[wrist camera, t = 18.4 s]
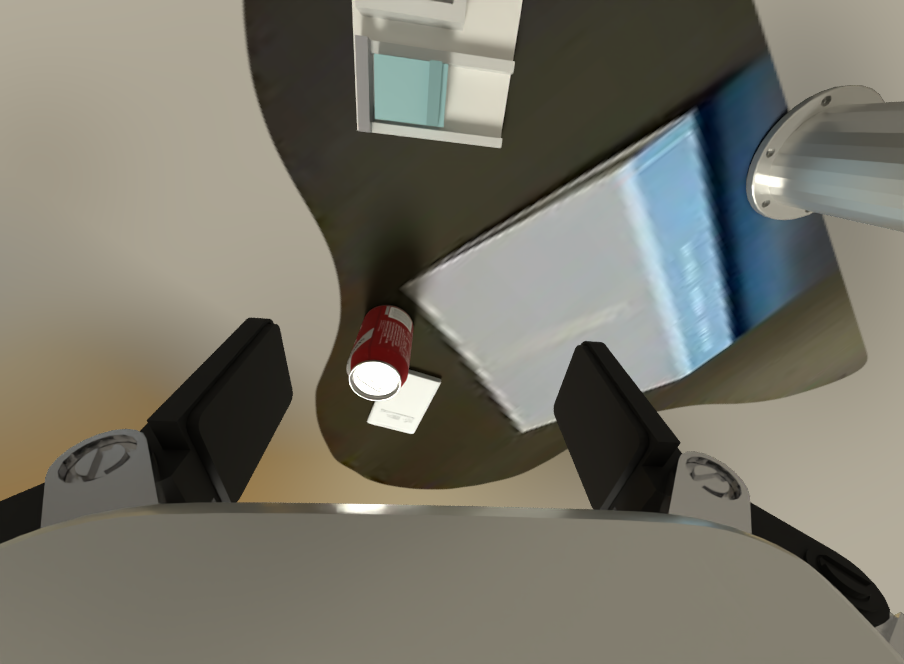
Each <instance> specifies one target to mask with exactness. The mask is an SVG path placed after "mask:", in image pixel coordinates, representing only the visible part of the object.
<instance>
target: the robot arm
mask: <svg viewBox="0 0 904 664" xmlns="http://www.w3.org/2000/svg"><path fill="white" fill-rule="evenodd" d="M746 191H747V197H748V200H749V202H750V204H751V206H752V208H753V209H754V210H755V211H756V212H757V213H759V214H761V215H763V216H765V217H769V218H772V219H778V220H789V219H796V218H800V217H803V216H806V215H809V214H811V213H813V212H816V213H821V214H825V215H830V216H834V217H839V218H843V219H847V220H852V221H856V222H861V223H865V224H870V225H874V226H878V227H883V228H887V229H892V230H896V231H901V232H904V102H889V103H885V102H884V101H883V99H882V98H881V96H880V94H878V93H877V92H876V91H875V90H873V89H872V88H868V87H865V86H861V85H849V86H841V87H834V88H831V89H828V90H824V91H821V92H819V93H817V94H815V95H813V96H811V97H809V98H807V99H806V100H804V101H803V102H801V103H800V104H798V105H797V106H795V107H794V108H793V109H792V110H791V111H789V112H788V113H787V114H786V115H785V116H784V117H782V118H781V119H780V121H779V122H778V123H777V124H776V125H775V126H774V127H773V128H772V129H771V130H770V132H769V133H768V134H767V136H766V137H765V139H764V140H763V141H762V143H761V145H760V146H759V148H758V150H757V152H756V153H755V155H754V158H753V160H752V162H751V165H750V167H749V172H748V176H747V183H746ZM292 396H293V391H292V386H291V381H290V376H289V371H288V366H287V361H286V356H285V352H284V347H283V342H282V337H281V332H280V328H279V326H278V325H277V324H274V323H273V321H272V320H271V319H263V318H248V319H246V321H244V323H243V324H241V325H240V327H239V328H238V329H237V330H236V331H235V332H234V333H233V334H232V335H231V336H230V337H229V338H228V339H227V340H226V341H225V342H224V343H223V344H222V345H221V346H220V347H219V348H218V349H217V350H216V351H215V352H214V353H213V354H212V355H211V356H210V357H209V358H208V359H207V360H206V361H205V362H204V363H203V364H202V365H201V366H200V367H199V368H198V369H197V370H196V371H195V372H194V373H193V374H192V375H191V376H190V377H189V378H188V379H187V380H186V381H185V382H184V383H183V384H182V385H181V386H180V388H178V389H177V390H176V391H175V392H174V393H173V394H172V395H171V397H169V398H168V399H167V400H166V402H164V403H163V404H162V405H161V406H160V407H159V408H158V410H156V412H155V413H153V414H152V416H151V417H150V418H149V419H148V420H147V422H148V423H147V424H146V425H145V427H143V429H142V430H141V431H140V432H139V431H137V430H131V429H120V430H112V431H108V432H105V433H101V434H98V435H95V436H93V437H91V438H88V439H86V440H83V441H82V442H80V443H78V444H77V445H75V446H73V447H71V448H70V449H68V450H67V451H66V452H64V454H62V455H61V456H60V457H58V458H57V459H56V460H55V462H54V463H53V464H52V465H51V466H50V468H49V469H48V472H47V474H46V477H45V483H43V484H40V485H38V486H36V487H33V488H31V489H28V490H26V491H24V492H21V493H19V494H17V495H14V496H12V497H9V498H7V499H5V500H2V501H0V664H904V614H903V613H902V612H899V613H897V614H895V615H893V614H892V613H891V612H890V609H889V607H888V604H887V602H886V600H885V598H884V596H883V595H882V593H881V592H880V591H879V589H878V588H877V587H876V585H875V584H874V583H873V582H872V581H871V580H870V579H869V578H868V577H867V576H866V575H865V574H864V573H863V572H862V571H861V570H860V569H859V568H858V567H856V566H855V565H854V564H853V563H851V562H850V561H849V560H847V559H846V558H844V557H843V556H841V555H840V554H838V553H837V552H835V551H833V550H832V549H830V548H828V547H826V546H825V545H823V544H821V543H820V542H818V541H816V540H814V539H813V538H811V537H809V536H807V535H806V534H804V533H802V532H801V531H799V530H797V529H796V528H794V527H792V526H790V525H788V524H787V523H785V522H783V521H782V520H780V519H778V518H777V517H775V516H773V515H771V514H769V513H768V512H766V511H764V510H763V509H761V508H759V507H758V506H756V505H754V504H752V503H751V502H750V495H749V492H748V488H747V487H746V485H745V484H744V482H743V480H742V479H741V478H740V477H739V476H738V475H737V474H736V473H735V472H734V471H733V470H732V469H731V468H729V467H728V466H727V465H725V464H724V463H722V462H721V461H719V460H717V459H716V458H714V457H711V456H709V455H706V454H704V453H699V452H695V451H693V452H685V453H683V454H682V453H681V452H680V450H679V449H678V446H679V444H680V441H679V440H678V439H677V437H676V436H675V435H674V433H673V432H672V431H671V430H670V428H669V427H668V426H667V424H666V423H665V422H664V421H663V419H662V418H661V417H660V415H659V414H658V413H657V411H656V410H655V409H654V408H653V406H652V405H651V404H650V402H649V401H648V400H647V398H646V397H645V396H644V395H643V393H642V392H641V391H640V389H639V388H638V387H637V385H636V384H635V383H634V382H633V380H632V379H631V378H630V376H629V375H628V374H627V372H626V371H625V370H624V369H623V367H622V366H621V365H620V363H619V362H618V361H617V359H616V358H615V357H614V356H613V354H612V353H611V352H610V350H609V349H608V348H607V347H606V345H605V344H604V343H602V342H591V341H584V342H583V343H582V344H581V345H578V346H577V347H576V348H575V351H574V353H573V356H572V359H571V361H570V364H569V367H568V369H567V372H566V374H565V377H564V380H563V382H562V385H561V388H560V390H559V393H558V396H557V398H556V401H555V404H554V415H555V418H556V420H557V423H558V425H559V428H560V430H561V432H562V435H563V437H564V440H565V442H566V445H567V447H568V450H569V452H570V455H571V457H572V459H573V462H574V464H575V467H576V469H577V472H578V474H579V477H580V479H581V481H582V484H583V486H584V489H585V491H586V494H587V496H588V499H589V501H590V504H591V506H592V508H593V509H594V510H590V509H555V508H553V509H552V508H519V507H478V506H435V505H434V506H431V505H387V504H384V505H383V504H329V503H326V504H325V503H236V502H237V501H238V500H239V499H240V497H241V495H242V493H243V491H244V490H245V488H246V486H247V484H248V482H249V480H250V478H251V476H252V474H253V473H254V471H255V469H256V467H257V465H258V463H259V461H260V459H261V458H262V456H263V454H264V452H265V450H266V448H267V446H268V444H269V442H270V441H271V438H272V437H273V435H274V433H275V431H276V429H277V427H278V425H279V424H280V422H281V420H282V418H283V416H284V414H285V412H286V410H287V409H288V407H289V405H290V403H291V400H292Z"/></svg>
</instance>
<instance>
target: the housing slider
mask: <svg viewBox="0 0 904 664" xmlns="http://www.w3.org/2000/svg"><path fill="white" fill-rule="evenodd" d="M447 76H448V64H444V63H442V61H435V60H430V61H423V60H417V59H410V58H403V57H396V56H389V55H382V54H375V53H374V93H375V119H381V120H389V121H396V122H404V123H412V124H420V125H428V126H436V127H444V114H445V102H446V89H447Z"/></svg>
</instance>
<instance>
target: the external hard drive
mask: <svg viewBox="0 0 904 664" xmlns="http://www.w3.org/2000/svg"><path fill="white" fill-rule="evenodd" d="M440 383H441V379H439V378H436V377H433V376H429V375H426V374H423V373H419V372H416V371H413V370H409V372H408V377H407V380H406V382H405V383H404V385H403V386H402V387H401V388H400V390H399V391H398V393H397V394H396V395H394V396H393V397H391V398H389V399H386V400H382V401H375V402H374V405H373V407H372V410H371V412H370V414H369V417H368V420H367V422H368V423H370V424H374V425H378V426H382V427H386V428H390V429H394V430H398V431H402V432H406V433H410V434H414V432H415V430H416V428H417V426H418V424H419V423H420V421H421V419H422V417H423V415H424V413H425V411H426V410H427V408H428V406H429V404H430V402H431V400H432V398H433V397H434V395H435V393H436V391H437V389H438V387H439V385H440Z"/></svg>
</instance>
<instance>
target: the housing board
mask: <svg viewBox="0 0 904 664" xmlns="http://www.w3.org/2000/svg"><path fill="white" fill-rule="evenodd" d="M522 1H523V0H352V10H353V35H354V60H355V84H356V109H357V130H359V131H362V132H374V133H382V134H390V135H398V136H407V137H415V138H423V139H431V140H439V141H447V142H455V143H463V144H472V145H480V146H488V147H496V148H501V145H502V138H501V131H502V125H503V119H504V113H505V107H506V100H507V94H508V88H509V82H510V75H511V74H513V71H514V65H515V61H513V57H514V50H515V44H516V38H517V32H518V25H519V19H520V13H521V7H522ZM374 53H375V54H382V55H389V56H396V57H403V58H410V59H417V60H423V61H430V60H435V61H442V63H444V64H448V76H447V89H446V102H445V114H444V127H436V126H428V125H420V124H412V123H404V122H396V121H389V120H381V119H375V93H374Z"/></svg>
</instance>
